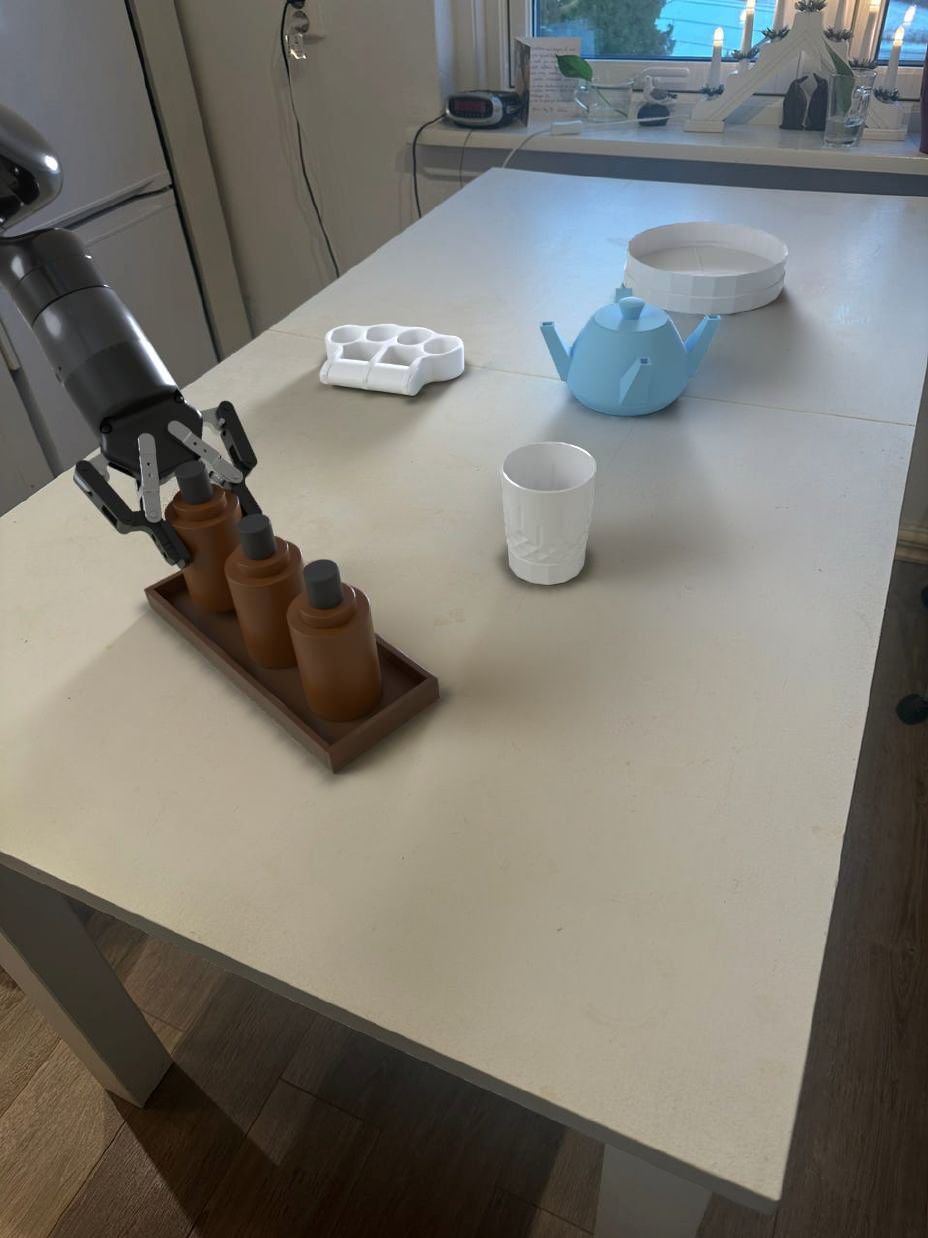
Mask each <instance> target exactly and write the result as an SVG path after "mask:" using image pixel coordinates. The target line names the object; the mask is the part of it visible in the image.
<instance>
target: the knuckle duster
mask: <svg viewBox="0 0 928 1238" xmlns="http://www.w3.org/2000/svg"><path fill="white" fill-rule="evenodd" d="M324 344H325V349H326V350H325V351H326V355H327V359H325V361H324V362H323V364H322V366H321V368H320V370H319V371H320V372H319V381H320V383H321V384H323V385H328V386H340V387H345V388H346V387H347V388H353V389H354V388H355V389H362V390H366V391H377V392H385V393H390V394H391V393H392V394H399V395H406V396H410V397H412V396H415V395H418V393H419V392H420V390H421V389H422V388H423V386H424V385H428V384H430V383H433V382H445V381H451V380H453V379H456V378H457V377H459V376H460V375H462V374H463V372H464V371H465V356H464V355H465V354H464V342H463V341H462V339H461V338H460V337H458V336H457V335H448V334H447V335H446V334H440V333H437V332H435V331H433V330H431V329H430V328H426V327H422V326H402V325H398V324H395V323H378V324H374V325H355V324H345V325H339V326H336V327H334V328H331V329H330V330H329V331H327V332H326V333H325V336H324Z"/></svg>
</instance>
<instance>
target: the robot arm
mask: <svg viewBox="0 0 928 1238" xmlns="http://www.w3.org/2000/svg"><path fill="white" fill-rule="evenodd" d="M63 186H64V169H63V166H62V162H61V160H60V157H59V155H58V153H57V152H56V150H55V148H54V146H53V145H52V144H51V142H50V140H49V139H48V138H47V137H46V135H45V134H43V133H42V131H41V130H40V129H39V128H38V127H36V125H34V124H33V123H32V122H31V121H30V120H28V119H27V118H26V117H25V116H23V115H22V114H21V113H19V112H18V111H17V110H15V109H14V108H13V107H10V106H9V105H8V104H6V103H4V102H2V101H1V100H0V286H1V287H2V288H3V290H4V291H5V292H6V293H7V295H8V296H9V298H10V300H11V301H12V302H13V304H14V306H15V307H16V309H17V310H18V312H19V314H20V315H21V316H22V318H23V320H24V321H25V323H26V325H27V326H28V328H29V329H30V331H31V332H32V334H33V336H34V337H35V340H36V341H37V342H38V345H39V347H40V349H41V352H42V354H43V356H44V359H45V360H46V362H47V363H48V365H49V367H50V368H51V370H52V372H53V376H54V378H55V379H56V381H57V382H58V384H60V385H61V386H62V387H63V389H64V390H65V392H66V393H67V395H68V397H69V398H70V400H71V401H72V403H73V404H74V406H75V407H76V409H77V410H78V412H79V414H80V415H81V417H82V419H83V420H84V422H85V423H86V425H87V426H88V428H89V430H90V431H91V433H92V434H93V436H94V438H95V439H96V440H97V442H98V444H99V450H100V451H99V452H100V453H98V454H97V455H95V456H94V457H92V458H90V459H88V460H87V459H86V460H85V459H81V460H78V461H77V462H76V463H75V467H74V472H73V476H72V480H73V483H74V484H75V485H76V486H77V487H78V488H79V489H80V491H82V493H83V494H84V495H85V496H86V497H87V498H88V499H89V500H90V502H91V503H92V504H93V505H94V506H95V507H96V509H97V510H98V511H99V512H100V514H102V516H104V518H105V519H106V520H107V522H109V523H110V525H111V526H112V527H113V528H114V530H116V532H117V533H119V534H121V535H128V534H130V533H133V532H134V533H135V532H142V533H143V532H144V533H146V534H147V535H148V536H149V537H150V539H151V540H152V542H153V544H154V545H155V547H156V549H157V550H158V551H159V553H160V554H161V556H162V558H163V559H164V561H165V562H166V563H167V564H168V565H170V566H171V567H173V566H175V565H176V566H177V567H178V568H179V570H182V569H184V568H186V567H188V566H190V564H191V563H192V562H193V559H192V557H191V555H190V553H189V552H188V550H187V549H186V547H185V545H184V544H183V542H182V541H181V539H180V538H179V536H178V534H177V533H176V531H175V530H174V528H173V527H172V525H171V523H170V522H169V520H168V519H166V520H165V519H164V518H163V512H162V511H163V510H162V505H161V496H160V493H161V486H163V485H165V484H167V483H168V482H170V481H171V479H173V478H174V477H175V478H176V476H175V469H176V468H177V467H178V466H179V465H181V464H183V463H185V462H189V461H200V462H203V463H204V464H205V465H206V467H207V470H208V474H209V477H210V481H211V483H214V484H217V485H219V486H221V487H222V488H224V489H227V490H230V491H232V492H233V493H234V494H235V495H236V496H237V497H238V500H239V504H240V508H241V512H242V515H243V518H244V517H246V516H248V515H252V514H263V510H262V508H261V506H260V505H259V504H258V501H257V500H256V498H255V496H254V495H253V494H252V492H251V491H250V489H249V487H248V485H247V484H246V478H248V477H249V476H250V475H251V474H252V471H253V470H254V469H255V468H256V466H257V465H258V459H257V456H256V453H255V452H254V450H253V449H254V448H253V446H252V445H251V442H250V440H249V438H248V436H247V433H246V431H245V429H244V426H243V424H242V422H241V420H240V417H239V416H238V413H237V410H236V408H235V406H234V405H233V403H232V402H231V401H229V400H222V401H220V402H219V404H218V406H216V407H211V408H208V409H204V410H199V409H197V408H196V407H194V406H192V405H191V404H190V403H189V402H188V401H187V400H186V399H185V397H184V395H183V393H182V391H181V390H180V387H179V386H178V384H177V383H176V381H175V379H174V378H173V376H172V374H171V373H170V372H169V370H168V368H167V367H166V365H165V363H164V362H163V360H162V359H161V357H160V355H159V354H158V352H157V351H156V349H155V348H154V346H153V344H152V343H151V341H150V340H149V338H148V336H147V335H146V333H145V332H144V330H143V329H142V327H141V326H140V324H139V322H138V320H137V319H136V318H135V316H134V315H133V313H132V312H131V310H129V308H128V307H127V306H126V305H125V304H124V303H123V301H122V300H121V299H120V297H119V296H118V294H117V293H116V292H115V290H114V288H113V287H112V285H111V284H110V282H109V280H108V279H107V277H106V276H105V274H104V273H103V271H102V269H101V267H100V266H99V265H98V263H97V261H96V259H95V258H94V257H93V255H92V253H91V252H90V250H89V249H88V247H87V246H86V244H85V243H84V242H83V240H82V239H81V237H79V236H78V235H77V234H76V233H74V232H73V231H72V230H69V229H68V228H67V229H66V228H63V227H56V226H55V227H44V228H39V229H35V230H34V229H33V230H31V231H28V232H25V233H20V234H16V235H12V236H4V234H5V233H6V232H8V230H11V229H12V228H14V227H16V226H17V225H19V224H21V223H22V222H24V221H25V220H27V219H29V218H30V217H32V216H33V215H35V214H36V213H39V212H41V211H42V210H43V209H44V208H47V207H48V206H50V205H51V204H52V203H53V202H55V201H56V200H57V199H58V198H59V196H60V195H61V193H62V191H63ZM204 427H206V428H208V429H210V432H211V433H212V434H214V435H215V436H219V437H220V439H221V441H222V443H223V446H224V448H225V451H226V453H227V456H228V458H229V459H230V462H231V463H230V462H229V461H227V460H226V459H225V458H223V455H222V454H221V453H220V452H219V451H218V450H217V449H215V447H212V446H211V445H210V444H209V443H207V442H206V441H204V440H203V432H204V431H203V430H204ZM108 468H111V469H113V470H115V471H117V472H119V473H122V474H124V475H126V476H128V477H130V478H132V479H134V487H135V495H136V502H137V504H138V509H139V510H132V508H131V507H129V506H128V504H127V503H126V502H125V501H124V499H123V498H122V497H121V496H120V495H119V494H118V493H117V492H116V490H115V489H114V488H113V487H112V485H110V484H109V482H110V479H111V475H110V472H109V471H108ZM263 515H264V514H263Z"/></svg>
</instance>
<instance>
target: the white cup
mask: <svg viewBox="0 0 928 1238" xmlns="http://www.w3.org/2000/svg"><path fill="white" fill-rule="evenodd" d="M597 467H598V466H597V462H596V460H595V459H594V457H593V456H592V455H591V454H590V453H589V452H588V451H586V450H584V449H583V448H581V447H579V446H576V445H573V444H571V443H565V442H560V441H537V442H532V443H527V444H524V445H521V446H519V447H516V448H514V449H513V450H510V451H509V452H508V453H507V454H506V455H505V456H504V457H503V458H502V460H501V462H500V465H499V471H500V472H499V473H500V483H501V484H500V487H501V497H502V498H501V499H502V515H503V520H504V521H503V524H504V525H503V526H504V533H505V539H506V542H507V552H508V554H507V555H508V566H509V569H511V570H512V572H513V573H514V574H515V576H516V577H517V578H520V579H522V580H524V581H526V582H527V583H530V584H535V585H544V586H551V585H558V584H563V583H566V582H568V581H569V580H572V579H573V578H575V577H577V576H578V575H579V574H580V573H581V571H582V569H583V567H584V565H585V560H586V550H587V549H586V548H587V542H588V539H589V535H590V526H591V519H592V514H593V513H592V512H593V503H594V497H595V496H594V495H595V486H596V477H597V469H598V468H597Z"/></svg>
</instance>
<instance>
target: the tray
mask: <svg viewBox="0 0 928 1238" xmlns="http://www.w3.org/2000/svg"><path fill="white" fill-rule="evenodd" d="M143 592H144V594H145V598H146V600H147V602H148V605H149V607H150V609H151V610H152V611H154V612H155V613H156V614H157V615H158V616H159V617H160V618H161V619H163V620H164V621H165V623H167V624H168V625H169V626H170V627H171V628H172V629H173V630H174V631H176V632H177V633H178V634H179V635H180V636H181V637H182V638H183V639H185V641H187V642H188V643H189V645H191V646H192V647H193V648H194V649H195V650H196V651H197V652H199V653H200V654H201V656H203V657H204V658H205V659H207V661H209V662H210V663H211V664H212V665H213V667H215V668H216V669H217V670H218V671H220V672H221V673H222V674H223V675H224V676H225V677H226V678H227V679H228V680H230V681H231V682H232V683H233V684H234V685H235V686H236V687H237V688H238V689H239V690H240V691H242V692H243V693H244V694H245V695H246V696H247V697H248V698H250V700H252V701H253V702H254V704H256V705H257V706H258V707H259V708H260V709H262V711H264V712H265V713H266V714H267V715H268V716H269V717H270V718H271V719H272V720H274V721H275V723H277V724H278V725H279V726H280V727H281V728H283V730H284V731H285V732H286V733H288V734H289V735H290V736H291V737H292V738H293V739H294V740H296V741H297V742H298V743H299V744H300V745H301V746H302V747H303V748H304V749H305V750H307V752H308V753H310V754H311V755H312V756H313V757H315V759H316V760H317V761H318V762H319V763H321V764H322V765H323V766H324V767H325V768H326V769H327V770H329V772H331V773H332V774H333V775H334V774H336V773H338V772H339V771H340V770H342V769H343V768H345V767H346V766H347V765H349V764H350V763H351V762H353V761H354V760H355V759H357V758H358V757H360V756H361V755H362V754H364V753H365V752H366V751H368V750H369V749H371V748H372V747H373V746H375V745H376V744H378V742H380V741H382V740H383V739H384V738H386V737H387V736H389V735H390V734H391V733H392V732H394V731H395V730H397V729H398V728H400V727H402V725H404V724H405V723H407V722H408V721H410V719H412V718H414V717H415V716H416V715H418V714H419V713H420V712H423V710H424V709H426V708H427V707H429V706H430V705H432V704H433V703H434V702H436V701H437V700H438V699H439V698H440V685H439V678H438V677H437V676H435V675H434V674H433V673H432V672H430V671H429V670H427V669H426V668H424V666H422V665H420V664H419V663H417V662H416V661H415V660H414V659H412V658H411V657H409V656H408V655H407V654H405V653H404V652H403V651H401V650H400V649H398V648H397V647H396V646H394V645H393V644H392V643H390V642H389V641H387V640H386V639H385V638H383V637H382V636H380V635H379V634H378V633H377V632H375V631H374V633H375V640H376V646H377V653H378V659H379V666H380V672H381V679H382V685H383V694H382V698H381V700H380V702H379V704H378V705H377V706H376V707H375V708H374V709H373V710H372V711H371V712H370V713H368V714H367V715H365V716H363V717H361V718H359V719H356V720H353V721H348V722H331V721H327V720H324V719H322V718H320V717H318V716H316V715H315V714H314V713H313V712H312V711H311V710H310V708H309V706H308V704H307V700H306V696H305V692H304V688H303V683H302V679H301V675H300V671H299V667H298V665H296V666H294V667H290V668H285V669H269V668H265V667H262V666H260V665H258V664H256V663H255V662H254V661H253V660H252V659H251V658H250V656H249V654H248V650H247V647H246V643H245V640H244V636H243V633H242V629H241V626H240V622H239V619H238V616H237V612H236V609H232V610H229V611H222V612H212V611H206V610H203V609H201V608H199V607H197V606H196V605H195V604H194V603H193V601H192V599H191V596H190V593H189V590H188V587H187V584H186V580H185V577H184V574H183V571H182V570H181V569H179V570H177V571H176V572H174V573H172V574H170V575H168V576H166V577H165V578H163V579H160V580H159V581H157V582H155V583H153V584H151V585H149V586H147V587H145V588H144V589H143Z"/></svg>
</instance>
